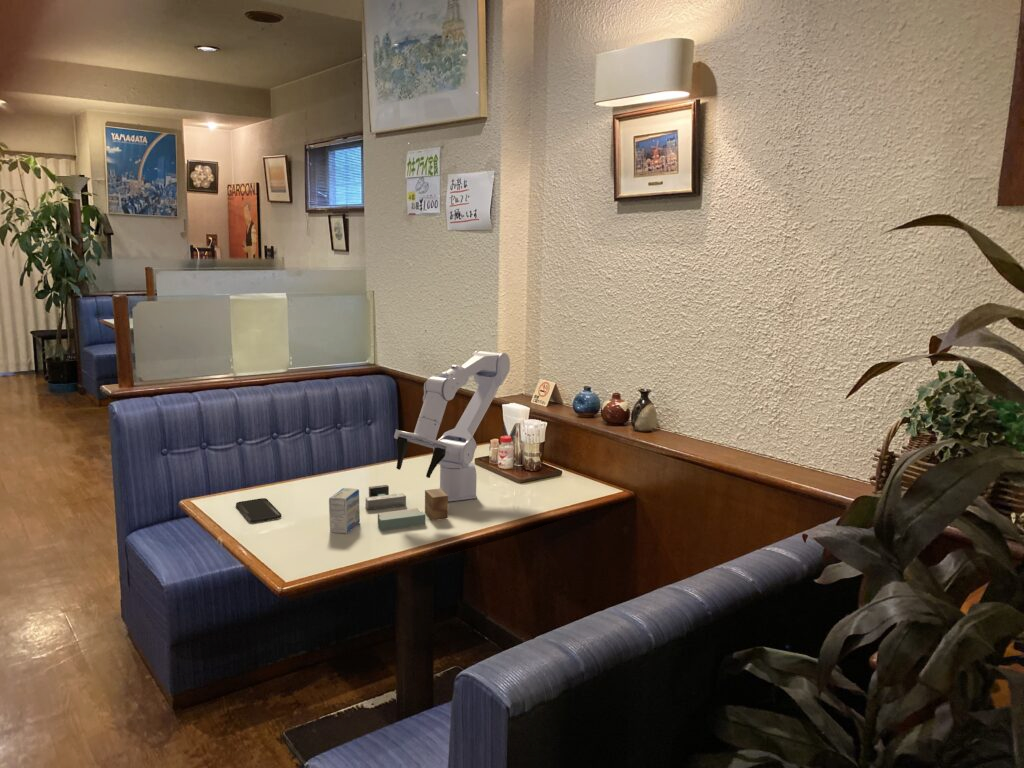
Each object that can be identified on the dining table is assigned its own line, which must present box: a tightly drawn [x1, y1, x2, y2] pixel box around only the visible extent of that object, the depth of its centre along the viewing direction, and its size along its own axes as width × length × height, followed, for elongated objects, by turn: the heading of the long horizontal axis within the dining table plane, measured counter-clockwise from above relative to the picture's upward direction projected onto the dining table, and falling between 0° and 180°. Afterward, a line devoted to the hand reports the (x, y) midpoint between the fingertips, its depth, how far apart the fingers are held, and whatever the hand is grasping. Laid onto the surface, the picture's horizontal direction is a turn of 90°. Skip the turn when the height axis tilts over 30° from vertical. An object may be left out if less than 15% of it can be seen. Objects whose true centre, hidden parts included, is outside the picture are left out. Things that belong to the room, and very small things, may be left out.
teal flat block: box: [377, 507, 426, 531], centre depth 187 cm, size 11×5×2 cm, turn 115°
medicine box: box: [328, 487, 361, 534], centre depth 183 cm, size 8×4×9 cm, turn 168°
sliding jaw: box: [365, 484, 407, 511], centre depth 201 cm, size 10×9×3 cm
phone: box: [235, 497, 282, 524], centre depth 193 cm, size 8×1×15 cm
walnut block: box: [424, 487, 449, 521], centre depth 193 cm, size 4×6×6 cm, turn 25°
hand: (412, 473), depth 190 cm, fingers open, 7 cm apart
